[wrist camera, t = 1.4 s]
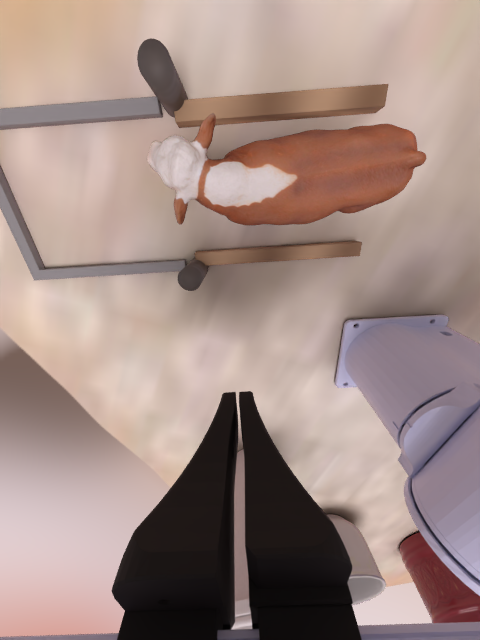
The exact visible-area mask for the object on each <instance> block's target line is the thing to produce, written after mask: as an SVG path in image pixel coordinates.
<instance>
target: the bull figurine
mask: <svg viewBox="0 0 480 640" xmlns="http://www.w3.org/2000/svg"><path fill="white" fill-rule="evenodd" d="M215 123H216V116H215V114H214V113H212V114H210V115H209V116H208V117H207V118H206V119H205V120H204V121H203V122H202V124H201V126H200V129H199V133H198V135H197V137H196V138H195V140H194V141H192V142H189V141H187V140H186V139H185V138H184V137H181V136H177V135H175V136H170V137H168V138H167V139H165V140H164V141H163V142H159V141H153V142H152V144H151V147H150V149H149V152H148V157H147V161H148V163H149V165H150V166H151V167H152V169H153V170H154V171H156V172H157V173H158V175H159V176H160V177H161V179H162V180H163V182H164V184H165V185H166V186H168V187H170V188H172V189H174V190H175V191H176V197H175V200H174V209H175V215H176V219H177V222H178V223H179V224H182V223H183V221H184V218H185V214H186V210H187V205H188V202H189V200H191V199H195V200H197V201H198V202H199V203H201V204H202V205H204V206H205V207H207V208H209V209H211V210H213V211H215V212H217V213H219V214H222V215H225V216H226V217H227V218H228V219H229V220H231V221H233V222H235V223H239V224H243V225H260V224H274V225H287V224H307V223H311V222H314V221H317V220H319V219H322V218H324V217H326V216H328V215H330V214H332V213H334V212H336V211H340V212H343V213H355V212H358V211H361V210H364V209H366V208H368V207H371V206H373V205H376V204H379V203H382V202H384V201H386V200H388V199H390V198H392V197H394V196H395V195H397V194H398V193H400V192H401V191H402V190H403V189H404V188H405V186H406V185H407V183H408V182H409V180H410V179H411V177H412V174H413V169H414V168H415V167H417V166H420V165H422V164H423V163H424V162H425V160H426V155H425V153H423V152H420V151H417V142H416V137H415V135H414V134H413V133H412V132H411V131H409V130H406V129H402V128H399V127H397V126H394V125H390V124H379V125H374V126H359V127H353V128H351V129H348V130H310V131H305V132H301V133H298V134H293V135H289V136H284V137H279V138H274V139H270V140H261V141H255V142H253V143H250V144H247V145H244V146H242V147H239V148H237V149H235V150H233V151H231V152H229V153H228V154H227V155H226V156H225V157H224V159H217V160H211V159H208V158H207V156H206V152H207V150H208V147H209V145H210V143H211V141H212V136H213V130H214V127H215Z"/></svg>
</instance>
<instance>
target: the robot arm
mask: <svg viewBox="0 0 480 640" xmlns="http://www.w3.org/2000/svg"><path fill="white" fill-rule="evenodd" d="M430 320H432V321H430ZM448 321H449V318H448V317H447V316H446V315H425V316H408V317H391V318H373V319H356V320H348V321H346V322H345V324H344V328H343V335H342V341H341V347H340V354H339V360H338V366H337V373H336V379H335V385H336V386H337V387H338V388H346V387H358V388H359V390H360V391H361V393H362V394H363V396H364V397H365V398H366V400H367V401H368V403H369V404H370V406H371V407H372V408H373V410H374V411H375V413H376V414H377V416H378V417H379V419H380V420H381V421H382V423H383V424H384V426H385V427H386V429H387V430H388V431H389V433H390V434H391V436H392V437H393V439H394V440H395V441H396V443H397V444H398V446H399V447H400V448H401V455H400V457H399V458H398V461H399V462H400V464H401V465H402V467H403V468H404V470H405V471H406V473H407V474H408V476H409V477H408V478H407V480H406V481H405V485H404V497H405V501H406V505H407V507H408V510H409V513H410V515H411V517H412V519H413V521H414V523H415V524H416V526H417V528H418V530H419V531H420V533H421V535H422V536H423V537H424V539H425V540H426V542H427V543H428V544H429V546H430V547H431V548H432V550H433V551H434V552H435V553H436V555H437V556H438V557H439V558H440V559H441V561H442V562H443V563H444V564H445V565H446V566H447V567H448V568H449V569H450V570H451V571H452V572H453V573H454V574H455V575H456V576H457V577H458V578H459V579H460V580H461V581H462V582H463V583H464V584H466V585H467V586H468V587H469V588H470V589H472V590H473V591H474V592H475V593H476V594H478V595H479V596H480V344H479V343H477V342H475V341H473V340H471V339H469V338H468V337H466V336H464V335H462V334H460V333H458V332H456V331H454V330H452V329H451V328H449V327H447V323H448ZM356 323H357V325H356V326H354V325H355V324H356ZM345 382H346V383H345ZM239 406H240V418H241V430H242V441H243V450H244V467H245V548H246V557H247V567H248V580H249V608H250V611H251V619H252V629H237V630H231V629H232V627H233V625H234V623H235V563H234V489H235V474H236V461H237V448H238V414H237V403H236V392H229V393H224V394H223V395H222V398H221V401H220V404H219V407H218V410H217V412H216V414H215V417H214V419H213V421H212V423H211V425H210V427H209V429H208V431H207V433H206V435H205V437H204V439H203V441H202V443H201V444H200V446H199V448H198V449H197V451H196V453H195V454H194V456H193V458H192V459H191V461H190V462H189V464H188V465H187V467H186V468H185V470H184V471H183V472H182V474H181V475H180V477H179V478H178V479H177V481H176V482H175V483H174V485H173V486H172V487H171V488H170V490H169V491H168V493H167V494H166V495H165V496H164V497H163V499H162V500H161V501H160V502H159V504H158V505H157V506H156V507H155V508H154V509H153V511H152V512H151V513H150V514H149V515H148V516H147V517H146V518H145V520H144V521H143V522H142V523H141V524H140V525H139V526H138V527H137V529H136V530H135V531H134V533H133V535H132V537H131V540H130V541H129V544H128V546H127V548H126V551H125V553H124V555H123V558H122V560H121V563H120V566H119V569H118V572H117V576H116V578H115V582H114V585H113V588H112V593H113V595H114V598H115V599H116V601H117V602H118V603H119V604H120V605H121V606H122V608H123V609H124V610H125V613H124V616H123V620H122V624H121V627H120V631H119V633H111V634H79V635H51V636H50V635H48V636H16V637H0V640H480V622H459V623H429V624H396V625H364V626H358V625H357V622H356V618H355V615H354V611H353V608H352V603H353V601H352V596H351V593H350V590H349V586H348V580H349V577H350V575H351V572H352V563H351V560H350V557H349V555H348V552H347V550H346V548H345V545H344V543H343V541H342V539H341V537H340V535H339V533H338V531H337V529H336V527H335V526H334V524H333V522H332V521H331V520H330V518H329V517H328V516H327V515H326V514H325V513H324V512H323V511H322V509H321V508H320V507H319V506H318V505H317V503H316V502H315V501H314V500H313V499H312V497H311V496H310V495H309V494H308V492H307V491H306V490H305V489H304V487H303V486H302V485H301V483H300V482H299V481H298V479H297V478H296V476H295V475H294V474H293V472H292V471H291V470H290V468H289V467H288V465H287V464H286V462H285V461H284V459H283V458H282V456H281V455H280V453H279V451H278V450H277V448H276V446H275V445H274V443H273V441H272V439H271V437H270V436H269V434H268V432H267V430H266V428H265V426H264V424H263V421H262V419H261V417H260V415H259V412H258V410H257V407H256V404H255V401H254V397H253V393H252V392H251V391H248V392H239Z"/></svg>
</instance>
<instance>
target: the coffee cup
mask: <svg viewBox="0 0 480 640" xmlns="http://www.w3.org/2000/svg"><path fill="white" fill-rule="evenodd" d="M234 563H235V623H234V625H233V627H232V629H231V630H237V629H252V619H251V611H250V608H249V580H248V567H247V557H246V548H245V467H244V450H243V449H242V450H240V451H239V452H237V461H236V474H235V489H234Z"/></svg>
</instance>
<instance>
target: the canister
mask: <svg viewBox="0 0 480 640" xmlns="http://www.w3.org/2000/svg"><path fill="white" fill-rule="evenodd" d="M399 551H400V553H401V556H402V560H403V563H404V564H405V567H406V569H407V570H408V572H409V573H410V575H411V577H412V579H413V581H414V583H415V585H416V587H417V590H418V592H419V594H420V596H421V598H422V600H423V602H424V604H425V606H426V608H427V610H428V612H429V615H430V617H431V619H432V623H459V622H480V596H479V595H478V594H476V593H475V592H474V591H473V590H472V589H470V588H469V587H468V586H467V585H466V584H464V583H463V582H462V581H461V580H460V579H459V578H458V577H457V576H456V575H455V574H454V573H453V572H452V571H451V570H450V569H449V568H448V567H447V566H446V565H445V564H444V563H443V562H442V561H441V559H440V558H439V557H438V556H437V555H436V553H435V552H434V551H433V550H432V548H431V547H430V546H429V544H428V543H427V542H426V540H425V539H424V537H423V536H422V535H421V533H420V532H418V533H416V534H414V535H412V536H410V537H408V538H407V539H405V540H404V541H403V542H402V543H401V545H400V548H399Z"/></svg>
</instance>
